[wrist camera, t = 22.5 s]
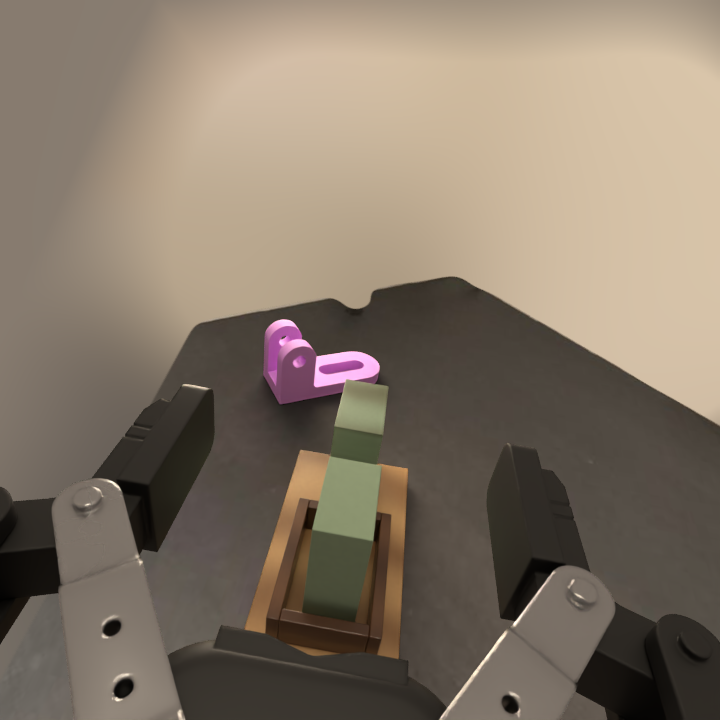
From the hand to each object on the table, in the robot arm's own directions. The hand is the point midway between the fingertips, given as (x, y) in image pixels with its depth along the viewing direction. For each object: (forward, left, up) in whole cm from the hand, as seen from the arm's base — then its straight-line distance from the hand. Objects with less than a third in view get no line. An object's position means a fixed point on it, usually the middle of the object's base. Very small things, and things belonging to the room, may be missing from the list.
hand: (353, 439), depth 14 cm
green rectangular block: (+7, +8, -23) cm, 26 cm away
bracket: (+20, +32, -25) cm, 45 cm away
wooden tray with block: (+9, +11, -25) cm, 29 cm away
